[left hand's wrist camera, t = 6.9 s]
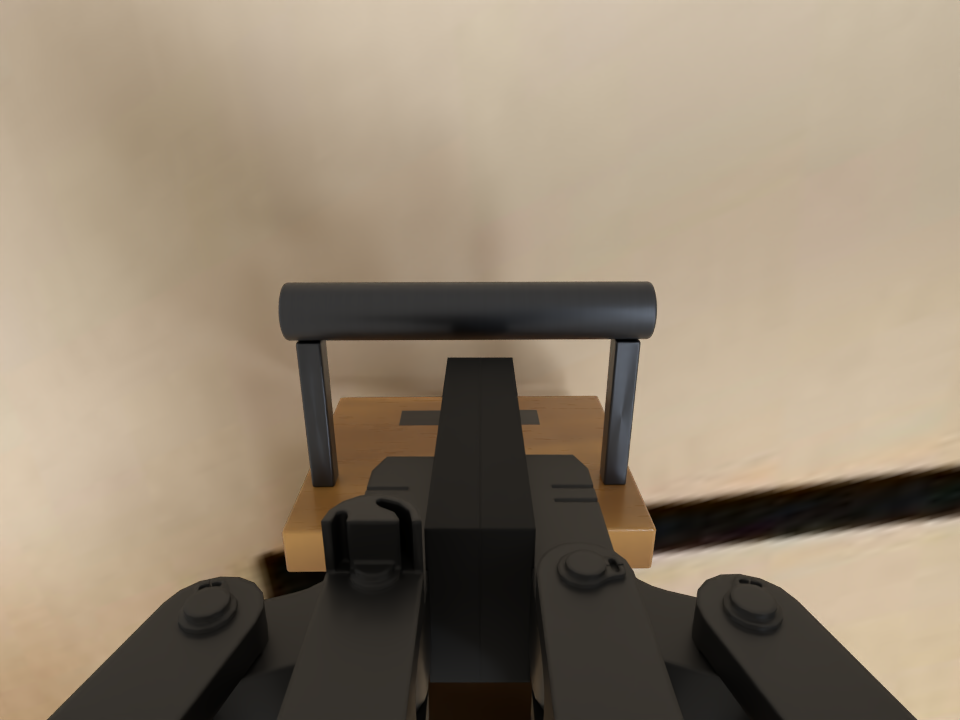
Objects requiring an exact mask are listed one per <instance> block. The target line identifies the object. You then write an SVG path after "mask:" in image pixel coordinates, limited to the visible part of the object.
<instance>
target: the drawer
mask: <svg viewBox="0 0 960 720" xmlns="http://www.w3.org/2000/svg"><path fill="white" fill-rule="evenodd" d="M656 317H657V301H656V294H655V290H654V287H653V285H652V284H651V283H650V282H362V283H286V284H284V285H283V287H282V289H281V292H280V297H279V322H280V327H281V331H282V334H283V336H284V337H285V339H287V340H289V341H298V342H297V343H296V349H297V358H298V367H299V375H300V384H301V392H302V401H303V410H304V418H305V427H306V435H307V444H308V453H309V461H310V469H309V472H308V474H307V476H306V479H305V481H304V483H303V485H302V488H301V490H300V492H299V495H298V497H297V499H296V501H295V504H294V506H293V508H292V511H291V513H290V515H289V517H288V520H287V522H286V524H285V527H284V529H283V531H282V537H283V544H284V551H285V558H286V565H287V570H288V571H289V572H317V571H326V565H325V556H324V546H323V537H322V527H321V520H322V519H323V518H324V516H325V515H326V514H327V512H328V511H329V510H330V509H332V508H333V507H335V506H336V505H338V504H339V503H341V502H342V501H345V500H348V499H351V498H354V497H357V496H360V495H364V494H365V491H366V490H367V485H368V481H369V478H370V475H371V472H372V470H373V469H374V468H375V467H376V466H377V465H378V464H380V463H381V462H382V461H383V460H384V459H385V458H386V457H387V456H434V454H435V446H436V439H437V432H438V425H439V417H440V410H441V403H442V397H343V398H341V399H340V401H339V403H338V405H337V408H336V410H335V412H334V415H333V411H332V401H331V390H330V380H329V370H328V359H327V349H326V340H524V339H611V344H610V356H609V368H608V380H607V392H606V403H605V413H604V410H603V408H602V406H601V403H600V401H599V399H598V397H597V396H518V403H519V410H520V417H521V425H522V432H523V439H524V446H525V454H573V455H574V456H575V457H576V458H577V459H578V460H579V461H581V462H582V463H583V464H584V465H585V466H586V467H587V468H588V469H589V473H590V476H591V479H592V482H593V488H594V489H595V492H596V495H597V498H598V502H599V504H600V508H601V511H602V514H603V517H604V520H605V524H606V527H607V530H608V533H609V536H610V540H611V543H612V546H613V549H614V551H615V552H616V553H617V554H619V555H620V556H622V557H623V558H624V559H626V561H627V562H628V564H629V565H630V567H631V568H650V567H651V564H652V556H653V548H654V541H655V533H656V528H655V526H654V524H653V521H652V519H651V517H650V515H649V512H648V510H647V508H646V505H645V503H644V501H643V499H642V496H641V494H640V492H639V490H638V487H637V485H636V483H635V481H634V478H633V476H632V474H631V471H630V469H629V467H628V458H629V449H630V439H631V429H632V420H633V410H634V400H635V391H636V381H637V371H638V362H639V352H640V341H639V339H648V338H650V337H651V336H652V334H653V332H654V328H655V324H656ZM428 701H429V720H531V701H532V681H531V672H530V682H430V673H429V684H428Z"/></svg>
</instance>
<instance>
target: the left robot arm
mask: <svg viewBox="0 0 960 720" xmlns="http://www.w3.org/2000/svg"><path fill="white" fill-rule="evenodd" d="M321 527H322V537H323V546H324V556H325V565H326V575H325V578H324V581H322V582H320V583H318V584H316V585H314V586H312V587H310V588H308V589H305V590H302V591H298V592H295V593H292V594H287V595H283V596H279V597H274V598H270V599H266V600H264V598H263V592H262V591H261V590H260V589H259V588H258V587H257V585H256V584H255V583H254V582H251V581H248V580H246V579H243V578H240V577H217V578H213V579H208V580H203V581H199V582H197V583H195V584H193V585H191V586H188V587H186V588H184V589H182V590H180V591H179V592H177V593H176V594H175V595H173V596H172V597H171V598H169V599H168V600H167V601H165V602H164V603H163V604H162V605H161V606H160V607H159V608H158V609H157V610H156V611H155V612H154V613H153V614H152V615H151V616H150V617H149V618H148V619H147V620H146V621H145V622H144V623H143V624H142V625H141V626H140V627H139V628H138V629H137V630H136V631H135V632H134V633H133V634H132V635H131V636H130V637H129V638H128V639H127V640H126V641H125V642H124V643H123V644H122V645H121V646H120V647H119V648H118V649H117V650H116V651H115V652H114V653H113V654H112V655H111V656H110V657H109V658H108V659H107V660H106V661H105V662H104V663H103V664H102V665H101V666H100V667H99V668H98V669H97V670H96V671H95V672H94V673H93V674H92V675H91V676H90V677H89V678H88V679H87V680H86V681H85V682H84V683H83V684H82V685H81V686H80V687H79V688H78V689H77V690H76V691H75V692H74V693H73V694H72V695H71V696H70V697H69V698H68V699H67V700H66V701H65V702H64V703H63V704H62V705H61V706H60V707H59V708H58V709H57V710H56V711H55V712H54V713H53V714H52V715H51V716H50V717H49V718H48V719H47V720H429V701H428V684H429V673H430V682H530V672H531V681H532V701H531V720H917V719H916V718H915V717H914V716H913V715H912V714H911V713H910V712H909V711H908V710H907V709H906V708H905V707H904V706H903V705H902V704H901V703H900V702H899V701H898V700H897V699H896V698H895V697H894V696H893V695H892V694H891V693H890V692H889V691H888V690H887V689H886V688H885V687H884V686H883V685H882V684H881V683H880V682H879V681H878V680H877V679H876V678H875V677H874V676H873V675H872V674H871V673H870V672H869V671H868V670H867V669H866V668H865V667H864V666H863V665H862V664H861V663H860V662H859V661H858V660H857V659H856V658H855V657H854V656H853V655H852V654H851V653H850V652H849V651H848V650H847V649H846V648H845V647H844V646H843V645H842V644H841V643H840V642H839V641H838V640H837V639H836V638H835V637H834V636H833V635H832V634H831V633H830V632H829V631H828V630H826V629H825V628H824V627H823V626H822V625H821V624H820V623H819V622H818V621H817V620H816V619H815V618H814V617H813V616H812V615H811V614H810V613H809V612H808V611H807V610H806V609H805V608H804V607H803V606H802V605H801V604H800V603H799V602H798V601H797V600H796V599H795V598H793V597H792V596H791V595H790V594H788V593H787V592H786V591H784V590H783V589H782V588H780V587H778V586H776V585H774V584H771V583H769V582H767V581H765V580H763V579H760V578H756V577H751V576H746V575H742V574H724V575H718V576H716V577H713V578H710V579H708V580H706V581H705V582H704V583H703V584H702V586H701V587H700V588H699V589H698V591H697V597H693V596H688V595H684V594H680V593H675V592H671V591H667V590H663V589H660V588H657V587H654V586H651V585H649V584H647V583H645V582H643V581H641V580H639V579H637V578H636V577H635V574H634V572H633V570H632V568H631V567H630V565H629V564H628V562H627V561H626V559H624V558H623V557H622V556H620V555H619V554H617V553H616V552H615V551H614V549H613V546H612V543H611V540H610V536H609V533H608V530H607V527H606V524H605V520H604V517H603V514H602V511H601V508H600V504H599V502H598V498H597V495H596V492H595V489H594V488H593V482H592V479H591V476H590V473H589V469H588V468H587V467H586V466H585V465H584V464H583V463H582V462H581V461H579V460H578V459H577V458H576V457H575V456H574V455H573V454H525V446H524V439H523V432H522V425H521V417H520V410H519V403H518V396H517V388H516V381H515V374H514V366H513V359H512V358H448V359H447V366H446V374H445V381H444V388H443V396H442V403H441V410H440V417H439V425H438V432H437V439H436V446H435V454H434V456H387V457H386V458H385V459H384V460H383V461H382V462H381V463H380V464H378V465H377V466H376V467H375V468H374V469H373V470H372V472H371V475H370V478H369V481H368V485H367V490H366V491H365V494H364V495H360V496H357V497H354V498H351V499H348V500H345V501H342V502H341V503H339V504H338V505H336V506H335V507H333V508H332V509H330V510H329V511H328V512H327V514H326V515H325V516H324V518H323V519H322V520H321Z"/></svg>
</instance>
